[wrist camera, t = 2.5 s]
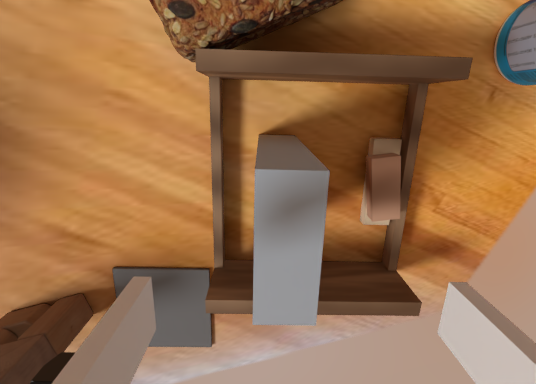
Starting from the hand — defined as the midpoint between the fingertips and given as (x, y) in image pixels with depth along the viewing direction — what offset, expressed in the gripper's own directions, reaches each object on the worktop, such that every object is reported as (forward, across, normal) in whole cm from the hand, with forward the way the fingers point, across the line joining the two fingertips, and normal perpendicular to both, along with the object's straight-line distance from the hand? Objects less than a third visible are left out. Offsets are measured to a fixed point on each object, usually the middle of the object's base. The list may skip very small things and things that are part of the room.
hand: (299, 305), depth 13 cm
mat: (+22, -14, -18) cm, 32 cm away
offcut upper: (+21, +11, 0) cm, 24 cm away
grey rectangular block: (+22, 0, 0) cm, 22 cm away
